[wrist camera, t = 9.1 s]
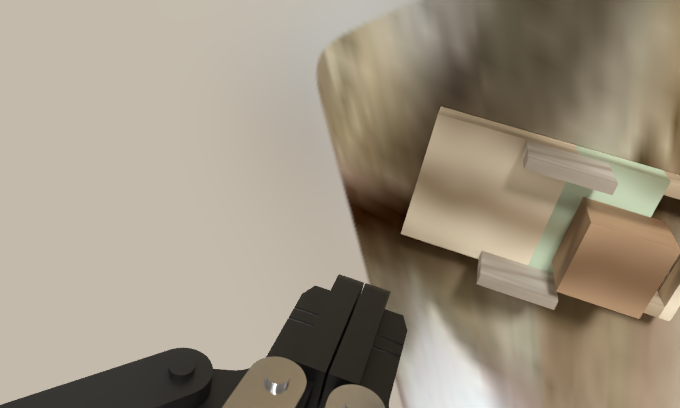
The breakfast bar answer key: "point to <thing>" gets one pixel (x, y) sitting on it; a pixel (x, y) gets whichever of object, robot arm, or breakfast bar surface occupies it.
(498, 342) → the breakfast bar surface
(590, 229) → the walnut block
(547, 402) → the breakfast bar surface
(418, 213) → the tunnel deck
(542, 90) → the breakfast bar surface
